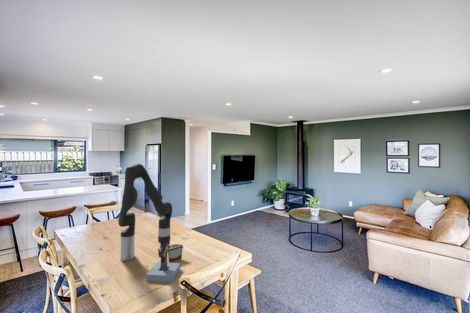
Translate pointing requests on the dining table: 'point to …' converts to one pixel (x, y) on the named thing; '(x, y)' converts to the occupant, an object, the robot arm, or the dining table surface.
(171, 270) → the socket block
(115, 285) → the dining table surface
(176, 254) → the food container
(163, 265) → the walnut peg
